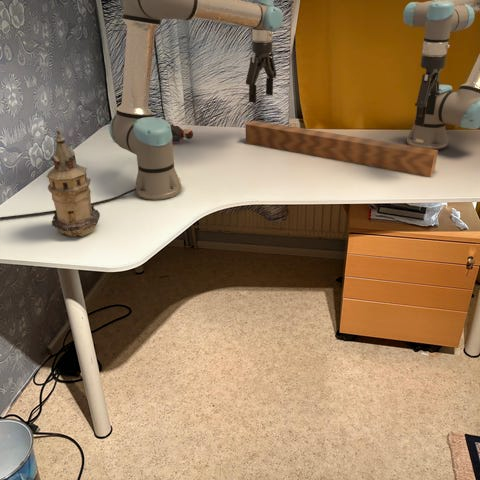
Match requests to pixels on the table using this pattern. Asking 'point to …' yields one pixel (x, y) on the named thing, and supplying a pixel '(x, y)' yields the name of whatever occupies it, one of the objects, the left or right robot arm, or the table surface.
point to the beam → (343, 147)
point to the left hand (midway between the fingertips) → (261, 98)
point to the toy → (180, 133)
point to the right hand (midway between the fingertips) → (424, 119)
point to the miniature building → (70, 193)
